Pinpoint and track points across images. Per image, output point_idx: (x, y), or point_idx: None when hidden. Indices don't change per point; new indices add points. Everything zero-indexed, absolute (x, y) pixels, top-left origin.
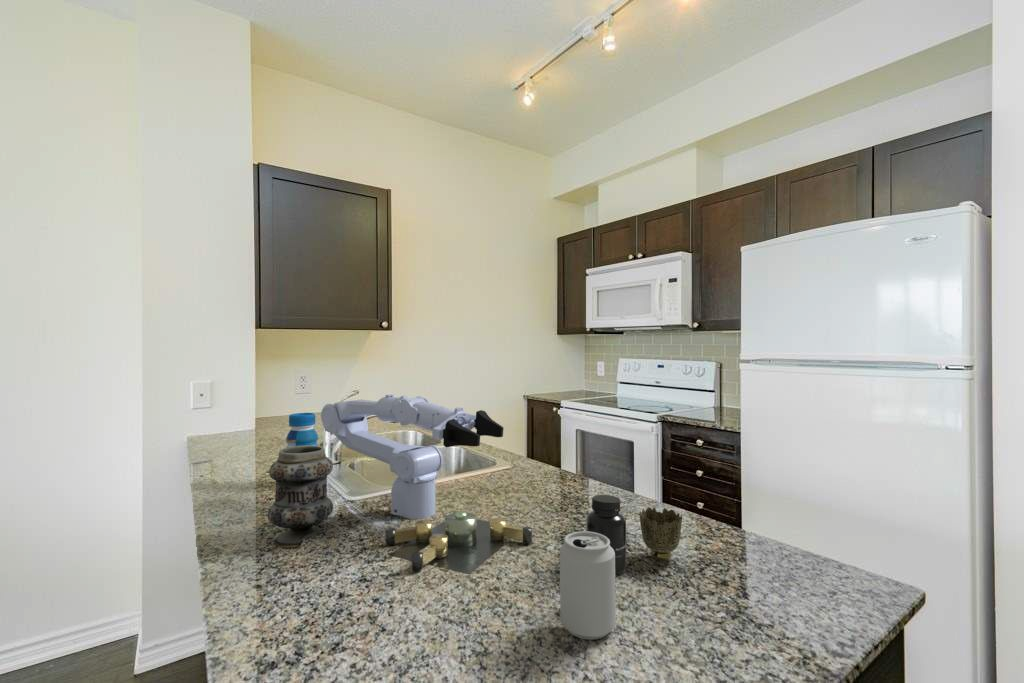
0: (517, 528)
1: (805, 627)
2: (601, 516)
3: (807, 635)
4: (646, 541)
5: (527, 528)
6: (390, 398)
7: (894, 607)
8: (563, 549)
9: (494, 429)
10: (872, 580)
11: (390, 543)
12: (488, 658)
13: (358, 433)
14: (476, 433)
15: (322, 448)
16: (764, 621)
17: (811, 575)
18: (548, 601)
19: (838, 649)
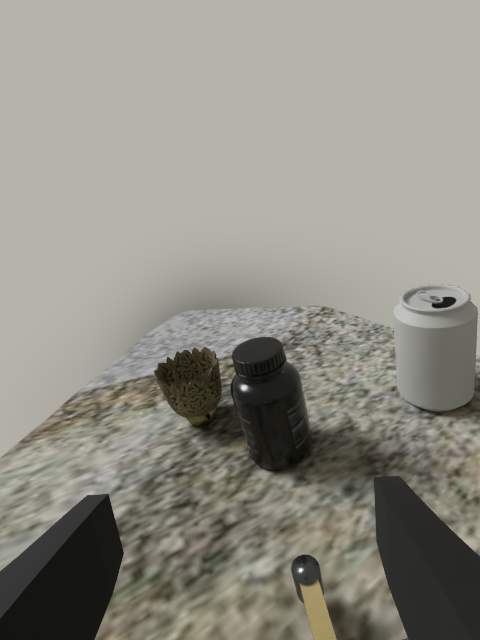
0: (318, 600)
1: (276, 323)
2: (285, 366)
3: (287, 320)
4: (215, 400)
5: (303, 568)
6: None
7: (209, 311)
8: (470, 312)
9: (83, 579)
10: (168, 323)
11: None
12: None
13: None
14: (388, 494)
15: None
16: (287, 334)
17: (177, 340)
18: (439, 447)
19: (292, 311)
